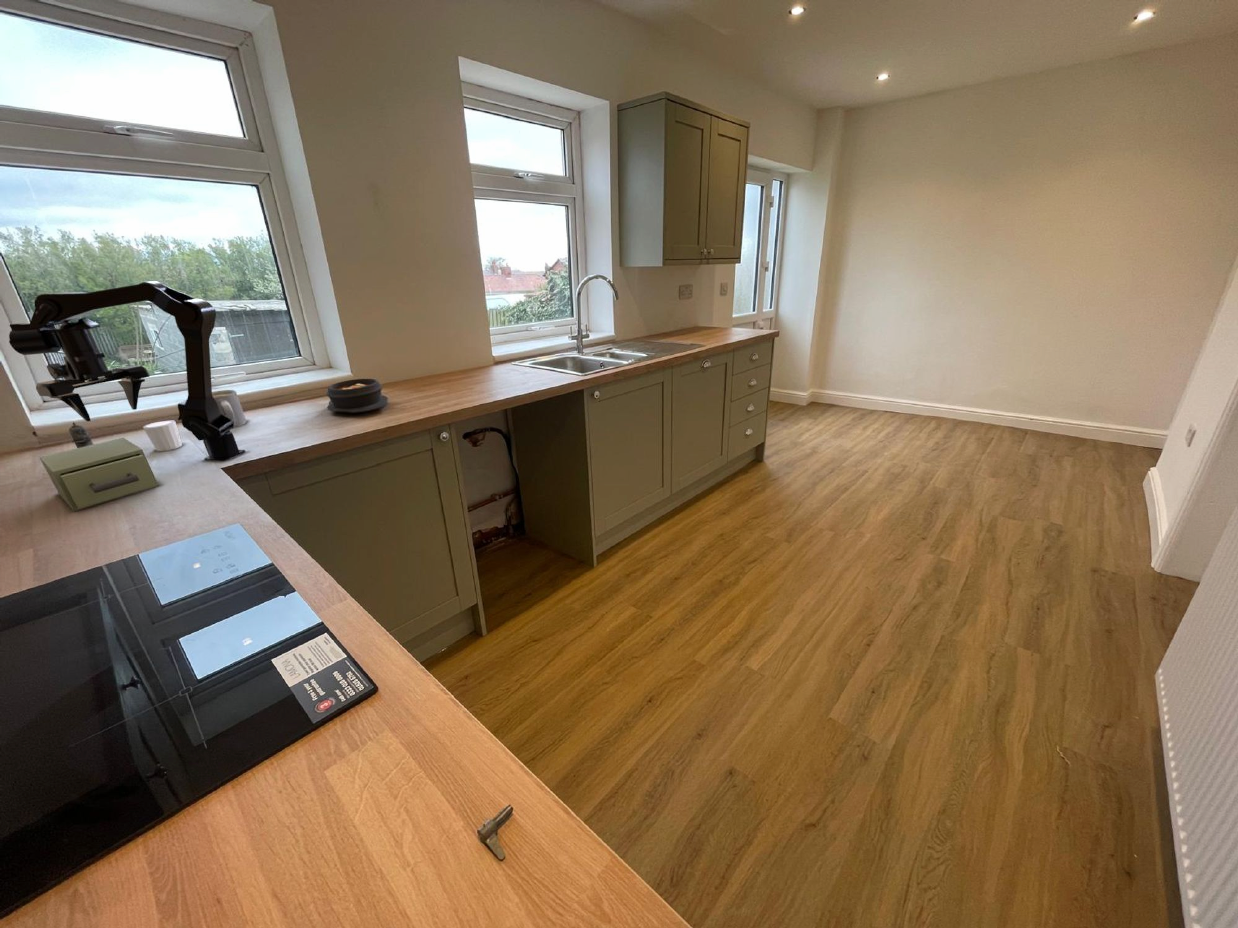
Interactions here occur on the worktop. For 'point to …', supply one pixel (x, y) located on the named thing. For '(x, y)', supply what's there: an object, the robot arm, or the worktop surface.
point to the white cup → (163, 435)
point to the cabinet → (88, 462)
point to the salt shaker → (80, 436)
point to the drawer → (108, 480)
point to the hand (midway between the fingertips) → (112, 415)
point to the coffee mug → (230, 406)
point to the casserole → (356, 396)
